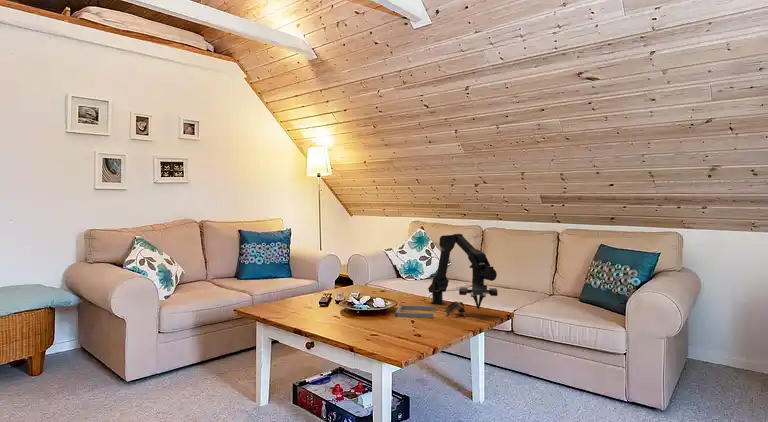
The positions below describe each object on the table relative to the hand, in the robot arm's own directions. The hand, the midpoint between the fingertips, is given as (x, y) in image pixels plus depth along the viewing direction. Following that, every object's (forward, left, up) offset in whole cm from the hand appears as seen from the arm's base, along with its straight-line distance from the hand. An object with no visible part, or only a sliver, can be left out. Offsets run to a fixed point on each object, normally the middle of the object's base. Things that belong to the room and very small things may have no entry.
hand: (478, 308), depth 251 cm
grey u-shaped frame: (0, -31, -3) cm, 32 cm away
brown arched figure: (+1, -10, -4) cm, 11 cm away
